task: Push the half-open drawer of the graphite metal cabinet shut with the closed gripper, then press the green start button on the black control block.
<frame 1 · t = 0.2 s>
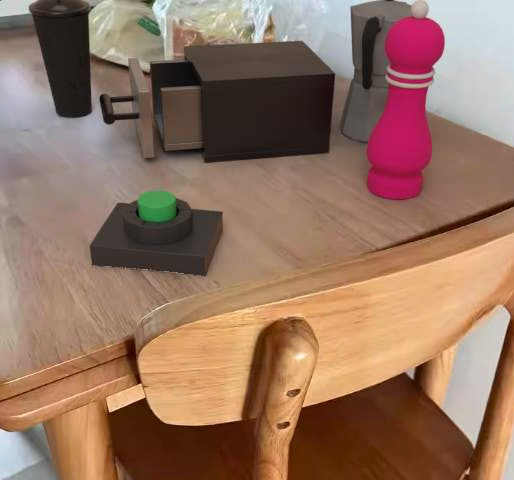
drawer: (178, 104, 91), point 5 cm above the table, slide at 6.0 cm
control block: (160, 247, 73), on the table
coffeepot: (370, 135, 97), on the table
drinking cup: (74, 112, 101), on the table
pepper mill: (393, 189, 84), on the table
cabinet: (255, 136, 95), on the table
start button: (157, 206, 70), point 4 cm above the table, slide at 0.1 cm
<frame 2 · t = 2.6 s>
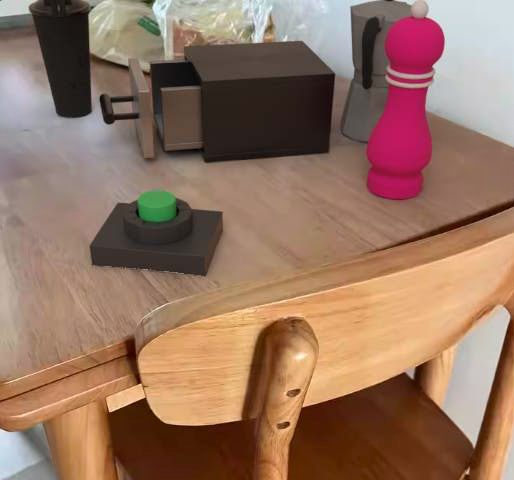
hand: (59, 12, 81), 16 cm above the table, tool pointing down, fingers closed
nothing on the table moved.
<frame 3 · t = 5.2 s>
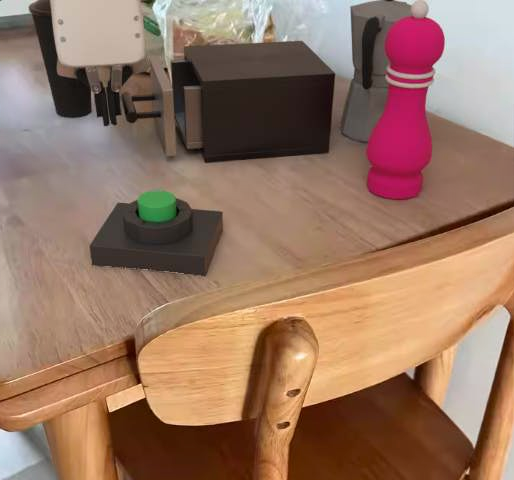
hand: (109, 121, 90), 3 cm above the table, tool pointing down, fingers closed
drawer: (199, 102, 91), point 5 cm above the table, slide at 3.3 cm, touching gripper
everything else where it was.
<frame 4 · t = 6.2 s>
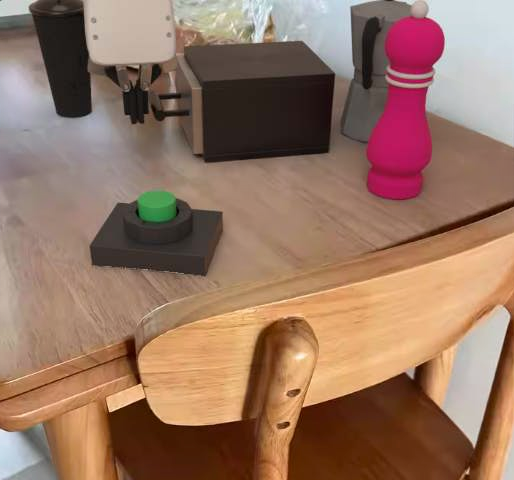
hand: (137, 119, 90), 3 cm above the table, tool pointing down, fingers closed
drawer: (225, 101, 92), point 5 cm above the table, slide at 0.0 cm, touching cabinet, gripper
everything else where it was.
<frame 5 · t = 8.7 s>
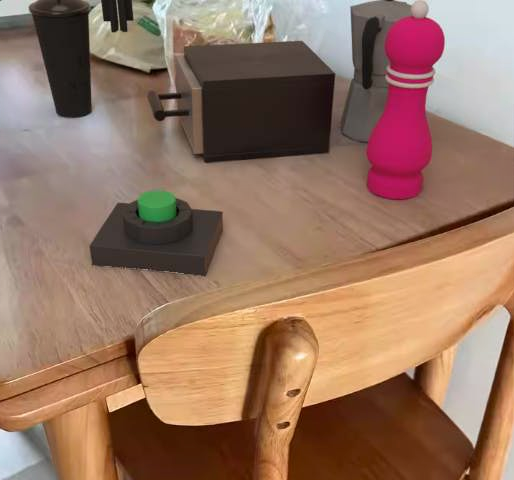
hand: (119, 28, 74), 17 cm above the table, tool pointing down, fingers closed
drawer: (225, 101, 92), point 5 cm above the table, slide at 0.0 cm, touching cabinet
everything else where it was.
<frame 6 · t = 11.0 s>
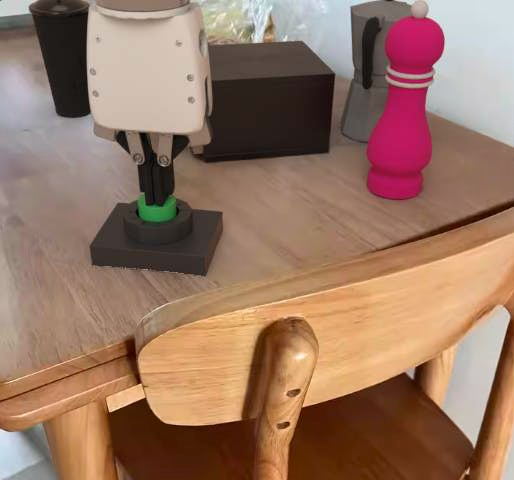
hand: (158, 199, 69), 5 cm above the table, tool pointing down, fingers closed
start button: (157, 207, 70), point 4 cm above the table, slide at 0.0 cm, touching gripper
everything else where it was.
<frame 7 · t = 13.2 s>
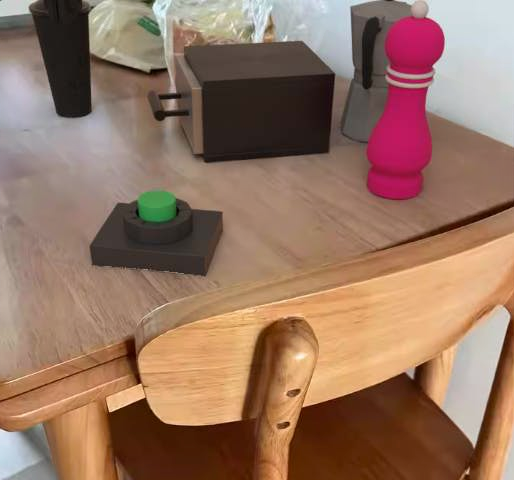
hand: (64, 18, 66), 19 cm above the table, tool pointing down, fingers closed
start button: (157, 206, 70), point 4 cm above the table, slide at 0.1 cm
everything else where it was.
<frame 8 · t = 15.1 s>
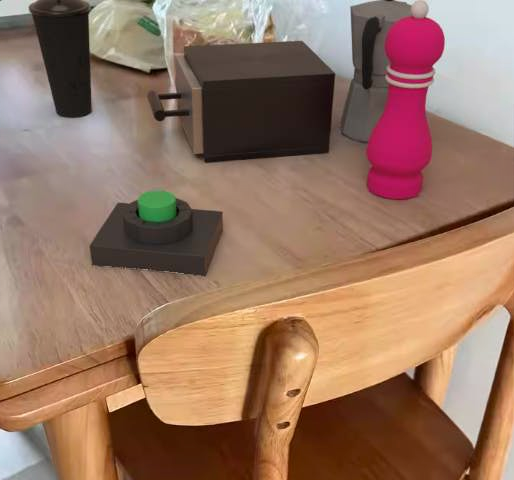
nothing on the table moved.
at the end: drawer slide at 0.0 cm; start button pushed in 1.1 cm at the most during the clip, back to where it started at the end; start button slide at 0.1 cm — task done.
